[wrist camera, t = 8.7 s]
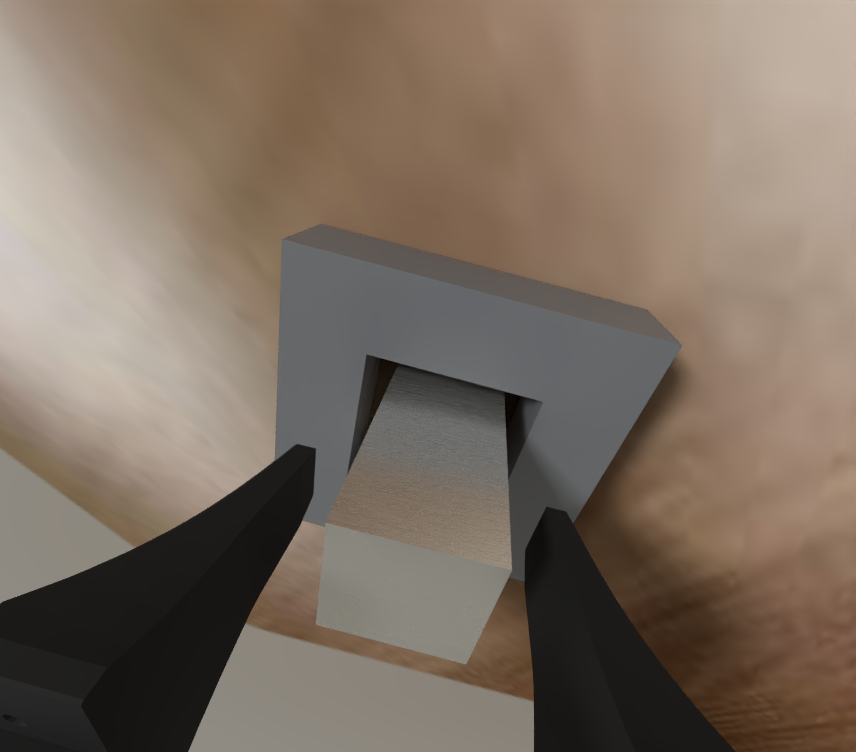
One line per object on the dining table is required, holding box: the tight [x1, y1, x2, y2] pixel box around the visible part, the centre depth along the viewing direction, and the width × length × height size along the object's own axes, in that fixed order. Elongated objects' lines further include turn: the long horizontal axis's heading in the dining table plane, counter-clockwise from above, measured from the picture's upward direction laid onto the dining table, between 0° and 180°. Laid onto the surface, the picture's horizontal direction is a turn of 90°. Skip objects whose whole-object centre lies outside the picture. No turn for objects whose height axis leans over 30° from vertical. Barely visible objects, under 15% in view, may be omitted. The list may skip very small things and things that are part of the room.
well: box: [275, 224, 682, 582], centre depth 16 cm, size 12×12×3 cm
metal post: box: [316, 363, 512, 664], centre depth 13 cm, size 4×4×9 cm
